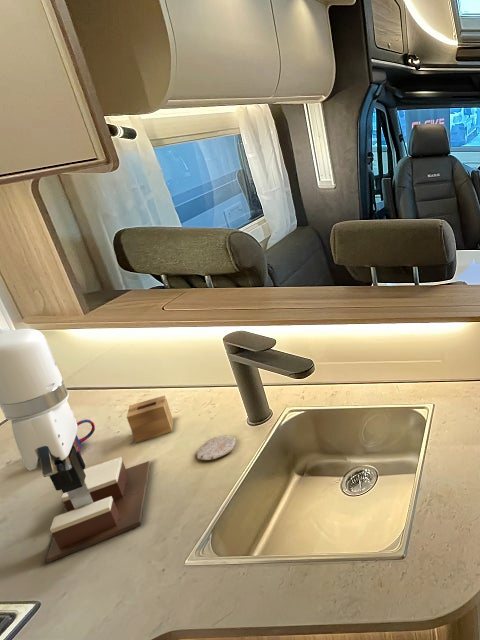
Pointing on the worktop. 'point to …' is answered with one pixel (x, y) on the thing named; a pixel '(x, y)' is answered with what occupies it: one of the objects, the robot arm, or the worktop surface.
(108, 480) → the cake
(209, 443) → the flatbread
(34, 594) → the worktop surface
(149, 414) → the knife block
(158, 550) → the worktop surface
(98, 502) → the cake slice
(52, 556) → the cake board
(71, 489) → the knife
